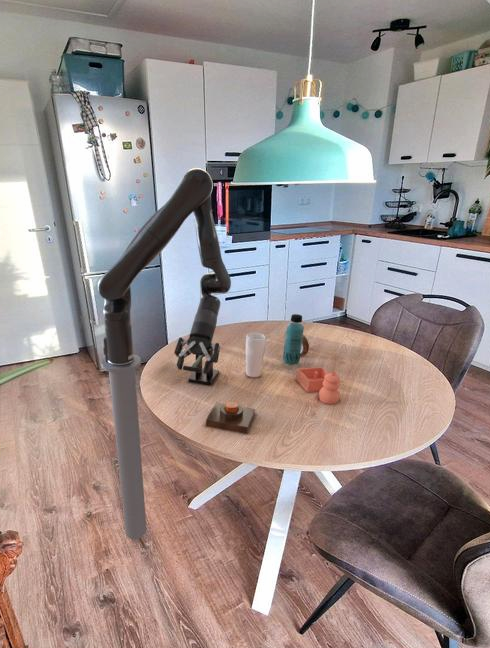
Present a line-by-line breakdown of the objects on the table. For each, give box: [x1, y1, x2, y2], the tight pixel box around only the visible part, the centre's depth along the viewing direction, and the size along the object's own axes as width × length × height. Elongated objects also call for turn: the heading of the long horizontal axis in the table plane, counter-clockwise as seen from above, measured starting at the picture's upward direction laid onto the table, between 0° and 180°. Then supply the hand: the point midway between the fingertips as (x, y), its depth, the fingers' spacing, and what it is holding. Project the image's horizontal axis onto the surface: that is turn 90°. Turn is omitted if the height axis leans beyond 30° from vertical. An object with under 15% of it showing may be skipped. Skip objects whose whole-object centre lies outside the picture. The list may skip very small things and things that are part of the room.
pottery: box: [295, 366, 341, 405], centre depth 129 cm, size 18×10×10 cm, turn 14°
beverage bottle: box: [282, 313, 305, 366], centre depth 144 cm, size 6×7×20 cm
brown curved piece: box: [284, 332, 310, 356], centre depth 159 cm, size 15×3×8 cm, turn 22°
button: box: [224, 400, 239, 413], centre depth 111 cm, size 4×4×2 cm
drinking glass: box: [245, 332, 267, 378], centre depth 137 cm, size 7×7×15 cm
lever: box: [182, 355, 206, 373], centre depth 128 cm, size 14×6×2 cm, turn 164°
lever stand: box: [188, 348, 220, 386], centre depth 134 cm, size 10×8×12 cm
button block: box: [205, 401, 256, 435], centre depth 112 cm, size 12×10×4 cm
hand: (191, 371), depth 123 cm, fingers open, 8 cm apart
